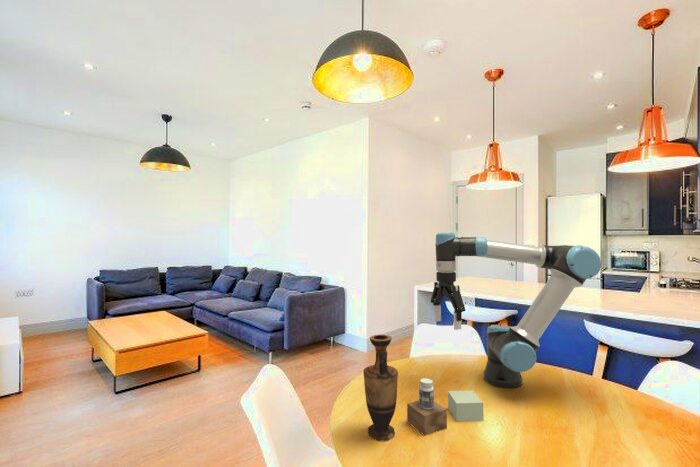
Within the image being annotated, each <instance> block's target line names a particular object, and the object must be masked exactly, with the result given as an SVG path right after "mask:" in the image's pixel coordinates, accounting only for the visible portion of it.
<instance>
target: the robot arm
mask: <svg viewBox="0 0 700 467" xmlns="http://www.w3.org/2000/svg"><path fill="white" fill-rule="evenodd" d="M456 257H480V258H484V259H492V260H501V261H507V262H515V263H522V264H530V265H535V267H537V268H539V269H540V268H541V269H546V270H549V271H550V274H551V275H550V277H549V278H548V280H547V281H546V282H545V284H544V286H543V287H542V289H541V290H540V291H539V293H538V294H537V296H536V297H535V298H534V299H533V301H532V303H531V305H530V306H529V308H528V309H527V310H526V312H525V313H524V315H523V316H522V317H521V319H520V321H519V322H518V324H517V325H515V326H511V325H510V326H509V325H489V326H487V328H486V341H487V342H486V344H487V346H486V348H487V349H486V350H487V351H486V352H487V359H486V360H487V362H486V364H485V368H484V370H483V380H484V381H485V382H486V383H488V384H491V386H492V385H493V386H496V387H499V388H500V387H501V388H504V389H505V388H506V389H508V388H509V389H512V388H513V389H514V388H519V387H521V386H523V377H522V374H521V373H523V372H524V373H525V372H527V371H529V370H532V368H533V367H534V366H535V365H536V362H537V351H538V350H539V348H540V347H541V345H540V342H539V340H540V339H541V337H542V336H543V334H544V332H545V331H546V330H547V328H548V326H550V324H551V322H552V321H553V320H554V318H555V317H556V315H557V314H558V312H559V311H560V309H561V308H562V307H563V306H564V303H565V302H566V301H567V300H568V298H569V297H570V295H571V293H572V292H573V291H574V289H575V288H579V287H582V286H583V285H584V284H585V282H586V280H587V279H591V278H594V277H596V276H597V275H598V274H599V273H600V271H601V268H602V261H601V260H602V259H601V258H600V255H599V253H598V252H597V251H596V250H594V249H593V248H591V247H589V246H585V245H570V244H569V245H568V244H567V245H565V244H564V245H563V244H561V245H544V244H540V245H538V246H533V245H527V244H518V243H513V242H512V243H511V242H504V241H503V242H502V241H496V240H488V239H487V238H485V237H484V236H470V237H468V236H467V237H464V236H460V237H456V234H455V232H438V233H437V234H435V261H436V263H435V267H436V274H435V276H436V281H434V283H433V284H434V285H433V286H434V287H433V290H432V294H431V298H430V303H431V304H432V306H433V314H434V315H433V316H434V321H433V322H442V304H441V302H442V300H443V299H444V296H446V297H447V298H448V299H449V302H450V303H451V306H452V307H453V310H454V311H453V329H454V330H455V331H458V330H462V320H463V318H462V312H463V313H464V312H466V307H465V304H464V300H463V298H462V294H461V288H460V285H454V283H455V282H456V281H457V272H456V270H457V262H456Z"/></svg>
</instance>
